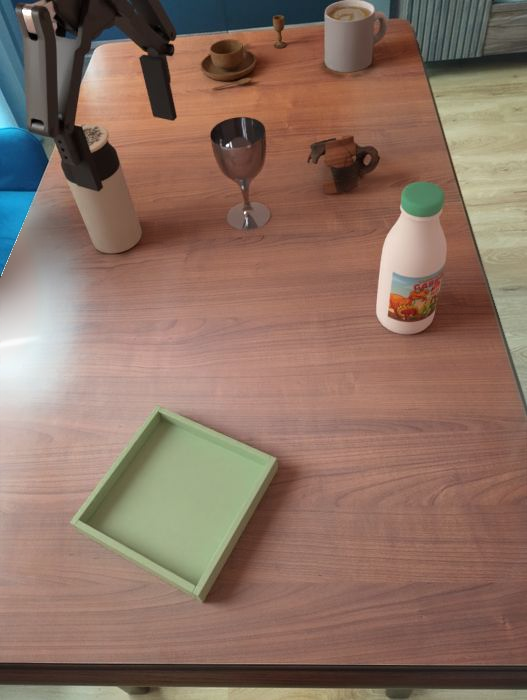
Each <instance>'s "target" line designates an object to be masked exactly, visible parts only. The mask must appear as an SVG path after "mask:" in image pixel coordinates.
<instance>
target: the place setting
mask: <svg viewBox="0 0 527 700" xmlns="http://www.w3.org/2000/svg"><path fill="white" fill-rule="evenodd" d="M272 25H273V30H274V31H275V32H277V37H276V39H277V41H276V42H275V43H274V44H273V47H274V48H276V49H283V48H285V47H287V42H286V41H282V40H283V36H282V32H283V31H284V30H285V16H284V15H282V14H276V15H274V16H272ZM249 47H250V43H247V44H245V45H243V43H242V42H241V41H240V40H238V39H233V38H229V39H221V40H218V41H216V42H214V43H212V44H211V46H210V47H209V53H207V55H206V56H205V57H203V59H202V60H201V61H200V69H201V72H202V73H203V75H205V76H206V77H208V78H209V79H211V80H214V81H222V82H225V81H226V82H228V81H234V82H231V83H226V84H222V85H217V86H215V87H212V88H211V90H217V89H221V88H225V87H228V86H232V85H238V86H241V85H247V84H248V83H250V82H251V81H252V78H251V77H245V76H248V75H249V74H250V73H251V72H252V71H254V69H255V67H256V65H257V57H256V55H255V54H254V53H253V52H251V51H250V50H247V48H249ZM244 77H245V78H244ZM235 80H237V81H235Z"/></svg>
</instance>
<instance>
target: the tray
mask: <svg viewBox="0 0 527 700" xmlns="http://www.w3.org/2000/svg"><path fill="white" fill-rule="evenodd" d="M278 470H279V462H278V458H277V457H275V456H272V455H271V454H268V453H266V452H264V451H261V450H259V449H258V448H255V447H252V446H250V445H248V444H246V443H244V442H241V441H240V440H237V439H234V438H232V437H230V436H228V435H225V434H223V433H222V432H218V431H216V430H215V429H212V428H210V427H207V426H206V425H203V424H201V423H198V422H196V421H194V420H192V419H190V418H187V417H186V416H183V415H181V414H178V413H177V412H174V411H172V410H170V409H167V408H165V407H162V406H161V405H159V404H157V405H155V407H154V408H153V410H152V411H151V412H150V414H149V415H148V417H147V418H146V419H145V420H144V422H143V423H142V425H140V428H139V429H138V430H137V431H136V432H135V434H134V436H133V437H132V438H131V439H130V441H129V442H128V443H127V445H126V446H125V448H124V449H123V450H122V451H121V452H120V453H119V455H118V457H117V458H116V460H115V461H114V462H113V463H112V465H111V466H110V468H109V469H108V470H107V472H106V473H105V475H104V476H103V477H102V479H101V480H100V481H99V482H98V484H97V485H96V487H94V489H93V491H92V492H91V493H90V494H89V496H88V497H87V498H86V500H85V501H84V503H83V504H82V505H81V506H80V508H79V510H78V511H77V512H76V514H75V515H73V517H72V519H71V520H70V522H69V524H71V526H72V527H73V528H74V530H76V531H77V532H78V533H79V534H82V535H83V536H85V537H86V538H88V539H90V540H92V541H93V542H95V543H97V544H98V545H101V546H102V547H104V548H106V549H107V550H109V551H111V552H113V553H114V554H116V555H118V556H120V557H121V558H123V559H125V560H127V561H129V562H130V563H132V564H133V565H136V566H137V567H139V568H141V569H142V570H144V571H145V572H148V573H149V574H151V575H153V576H155V577H157V578H158V579H160V580H162V581H163V582H165V583H167V584H169V585H171V586H172V587H174V588H175V589H177V590H179V591H181V592H183V593H184V594H185V595H188V596H190V597H191V598H193V599H195V600H197V601H198V602H200V603H202V604H203V603H204V602H205V600H206V598H207V596H208V594H209V593H210V591H211V589H212V587H213V585H214V584H215V582H216V580H217V578H218V577H219V575H220V573H221V572H222V570H223V568H224V566H225V564H226V563H227V561H228V559H229V557H230V556H231V553H232V552H233V550H234V548H235V547H236V545H237V543H238V541H239V539H240V538H241V536H242V534H243V533H244V531H245V528H246V527H247V526H248V523H249V522H250V520H251V519H252V517H253V515H254V513H255V511H256V509H257V508H258V505H259V504H260V502H261V501H262V499H263V497H264V495H265V493H266V491H267V489H268V488H269V487H270V484H271V483H272V481H273V479H274V477H275V475H276V474H277V472H278Z"/></svg>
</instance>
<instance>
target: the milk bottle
mask: <svg viewBox="0 0 527 700" xmlns="http://www.w3.org/2000/svg"><path fill="white" fill-rule="evenodd" d="M444 203H445V191H444V189H443V188H442V187H441V186H440V185H438V184H436V183H434V182H430V181H421V180H420V181H415V182H411V183H409V184H407V185H406V186H405V187H404V188H403V190H402V192H401V196H400V205H399V210H400V215H399V217H398V219H397V220H396V222H395V223H394V225H393V226H392V227H391V229H390V230H389V231H388V233H387V235H386V237H385V239H384V242H383V245H382V252H381V258H380V266H379V273H378V274H379V275H378V284H377V292H376V293H377V294H376V305H375V306H376V308H375V314H376V317H377V319H378V322H379V323H380V324H381V325H382V326H383V327H384V328H385V329H386V330H388V331H390V332H392V333H395V334H398V335H399V334H400V335H415V334H418V333H420V332H422V331H424V330H426V329H427V328H428V327H429V326H430V325H431V324H432V322H433V321H434V317H435V315H436V311H437V310H436V309H437V305H438V302H439V301H438V300H439V296H440V291H441V288H442V287H441V286H442V281H443V277H444V272H445V267H446V261H447V252H448V251H447V249H448V248H447V247H448V246H447V240H446V236H445V234H444V233H445V232H444V231H443V228H442V225H441V221H440V216H441V214H442V213H443V207H444Z"/></svg>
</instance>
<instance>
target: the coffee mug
mask: <svg viewBox="0 0 527 700" xmlns="http://www.w3.org/2000/svg"><path fill="white" fill-rule="evenodd" d="M377 20H378V22H379V28H378V30H377V32H376V33H375V22H376V21H377ZM387 30H388V19H387V15H386V13H384V12H382V11H380V10H379V11H376V8H375V6H374V4H372V3H370V2H368V1H366V0H340V1H336V2H333V3H331V4H329V5H328V6H327V7H326V8H325V10H324V65H325V66H326V67H327V68H328V69H330V71H331V70H332V71H335V72H338V73H354V72H359V71H361V70H364V69H366V68H368V67H369V66H371V64H372V61H373V51H374V49H373V48H374V46H375V45H376V44H378V43H379V42H380V41H382V40H383V39H384V38H385V35H386V34H387ZM374 33H375V34H374Z"/></svg>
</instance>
